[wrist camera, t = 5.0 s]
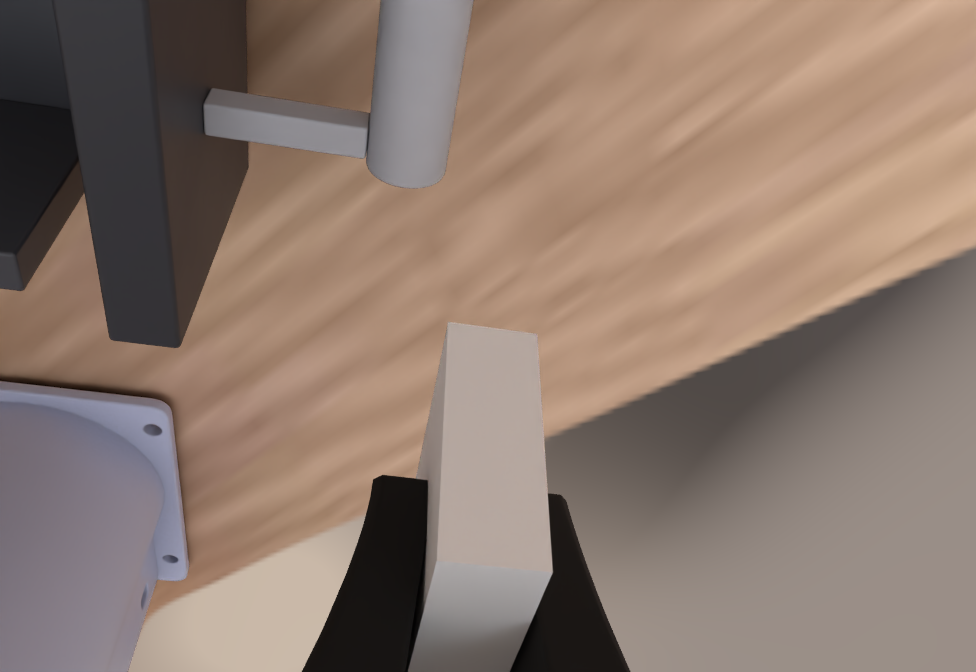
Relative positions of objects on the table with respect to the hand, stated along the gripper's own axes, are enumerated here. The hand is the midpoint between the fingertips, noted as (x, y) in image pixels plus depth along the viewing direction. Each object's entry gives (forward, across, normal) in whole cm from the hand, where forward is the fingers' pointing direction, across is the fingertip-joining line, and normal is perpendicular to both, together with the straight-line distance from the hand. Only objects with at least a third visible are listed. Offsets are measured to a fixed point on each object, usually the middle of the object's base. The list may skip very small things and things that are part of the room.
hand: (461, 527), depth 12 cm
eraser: (+2, 0, 0) cm, 2 cm away
